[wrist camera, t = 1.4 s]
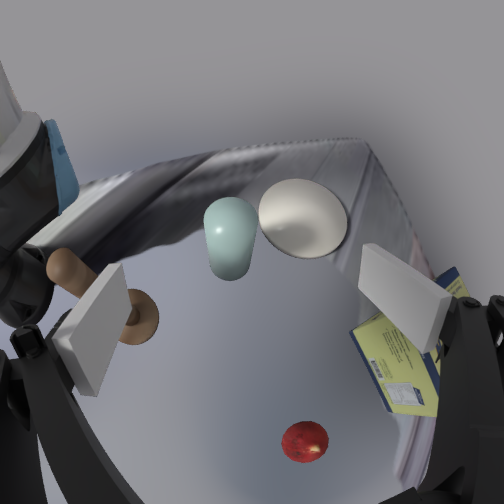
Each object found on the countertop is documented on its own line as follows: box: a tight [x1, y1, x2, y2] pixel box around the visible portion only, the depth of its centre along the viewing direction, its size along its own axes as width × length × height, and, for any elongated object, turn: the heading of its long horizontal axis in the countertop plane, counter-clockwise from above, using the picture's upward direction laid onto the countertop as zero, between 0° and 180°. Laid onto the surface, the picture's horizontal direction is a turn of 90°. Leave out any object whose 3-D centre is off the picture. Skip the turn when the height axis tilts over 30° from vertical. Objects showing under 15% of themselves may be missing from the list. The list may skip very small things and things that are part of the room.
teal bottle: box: [204, 197, 258, 281], centre depth 36 cm, size 6×6×12 cm
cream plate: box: [258, 179, 347, 259], centre depth 45 cm, size 15×15×1 cm
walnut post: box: [46, 248, 159, 345], centre depth 27 cm, size 8×8×20 cm
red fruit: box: [281, 421, 329, 463], centre depth 27 cm, size 6×6×8 cm
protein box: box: [349, 267, 470, 417], centre depth 29 cm, size 10×16×16 cm
